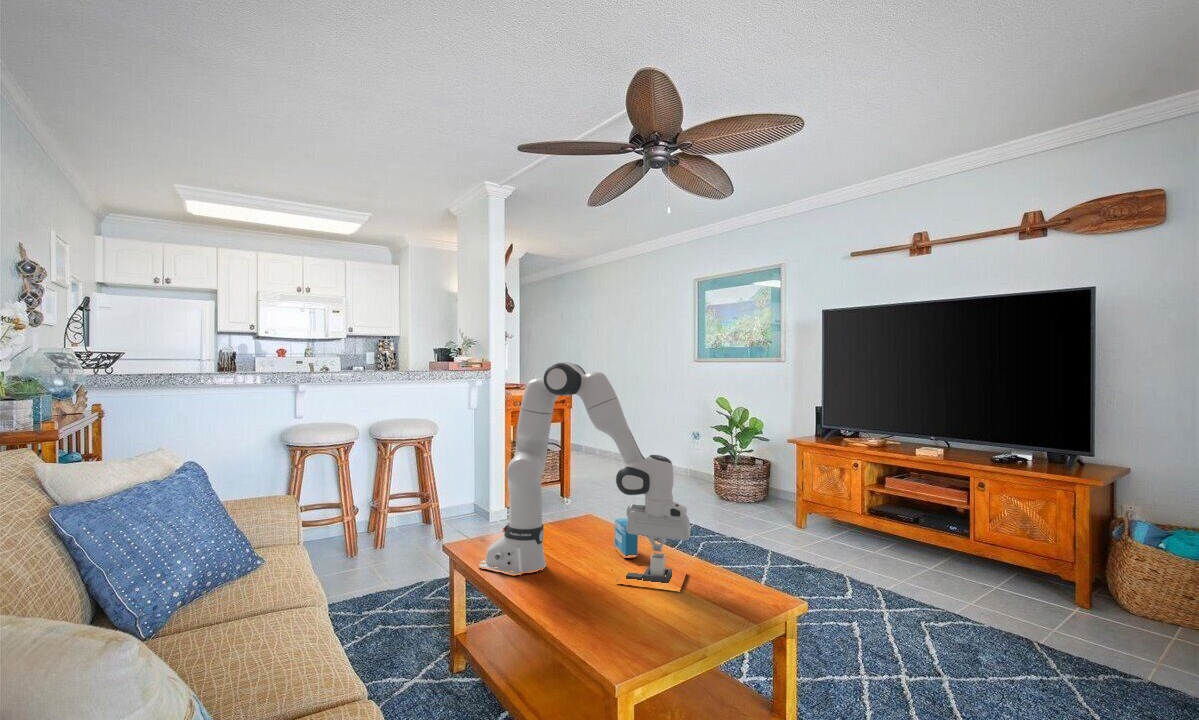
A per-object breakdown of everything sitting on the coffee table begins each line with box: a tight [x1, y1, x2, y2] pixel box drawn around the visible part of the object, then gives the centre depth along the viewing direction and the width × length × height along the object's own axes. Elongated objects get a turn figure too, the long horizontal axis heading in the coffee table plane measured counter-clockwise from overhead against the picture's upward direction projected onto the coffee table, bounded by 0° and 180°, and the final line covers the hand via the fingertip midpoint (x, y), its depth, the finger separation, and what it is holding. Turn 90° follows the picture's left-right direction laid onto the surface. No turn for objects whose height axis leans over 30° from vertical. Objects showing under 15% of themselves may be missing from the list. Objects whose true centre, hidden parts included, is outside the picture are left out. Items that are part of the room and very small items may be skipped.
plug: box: [649, 552, 666, 576], centre depth 183 cm, size 4×4×7 cm
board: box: [615, 567, 673, 583], centre depth 185 cm, size 20×16×3 cm
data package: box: [614, 517, 639, 556], centre depth 209 cm, size 12×4×12 cm, turn 18°
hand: (657, 550), depth 183 cm, fingers closed
